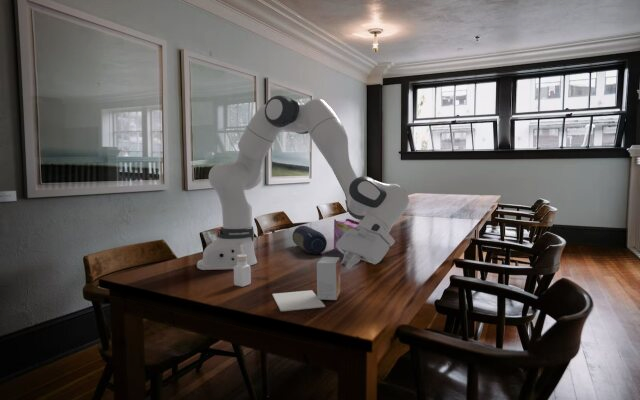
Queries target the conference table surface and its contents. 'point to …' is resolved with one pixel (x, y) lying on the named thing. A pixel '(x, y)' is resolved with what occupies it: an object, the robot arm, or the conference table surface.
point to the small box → (328, 278)
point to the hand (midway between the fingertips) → (344, 267)
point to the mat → (297, 300)
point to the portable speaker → (309, 240)
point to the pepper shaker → (242, 271)
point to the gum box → (342, 229)
